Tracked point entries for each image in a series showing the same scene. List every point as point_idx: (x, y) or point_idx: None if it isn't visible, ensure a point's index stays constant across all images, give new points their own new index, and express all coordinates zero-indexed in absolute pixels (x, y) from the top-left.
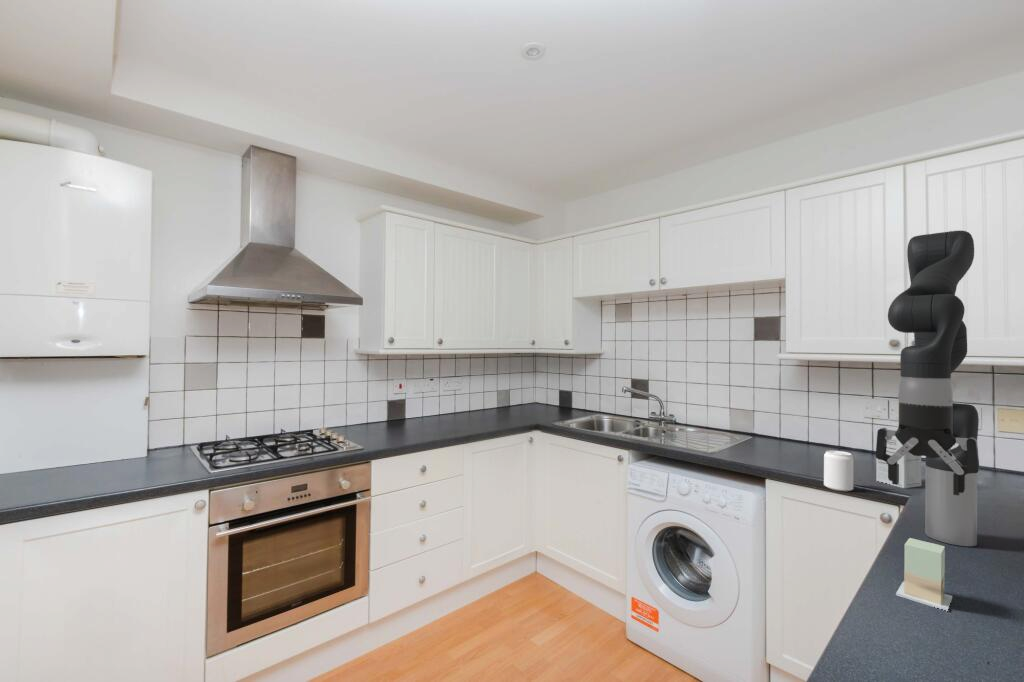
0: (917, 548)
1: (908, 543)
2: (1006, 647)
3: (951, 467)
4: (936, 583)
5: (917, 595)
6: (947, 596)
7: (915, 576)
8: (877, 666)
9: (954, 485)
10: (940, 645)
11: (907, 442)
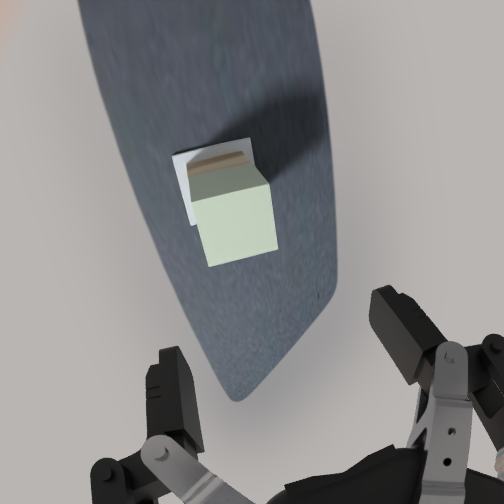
0: (233, 259)
1: (210, 250)
2: (329, 243)
3: (417, 413)
4: None
5: None
6: (245, 148)
7: None
8: (255, 379)
9: (389, 348)
10: (279, 307)
11: None
